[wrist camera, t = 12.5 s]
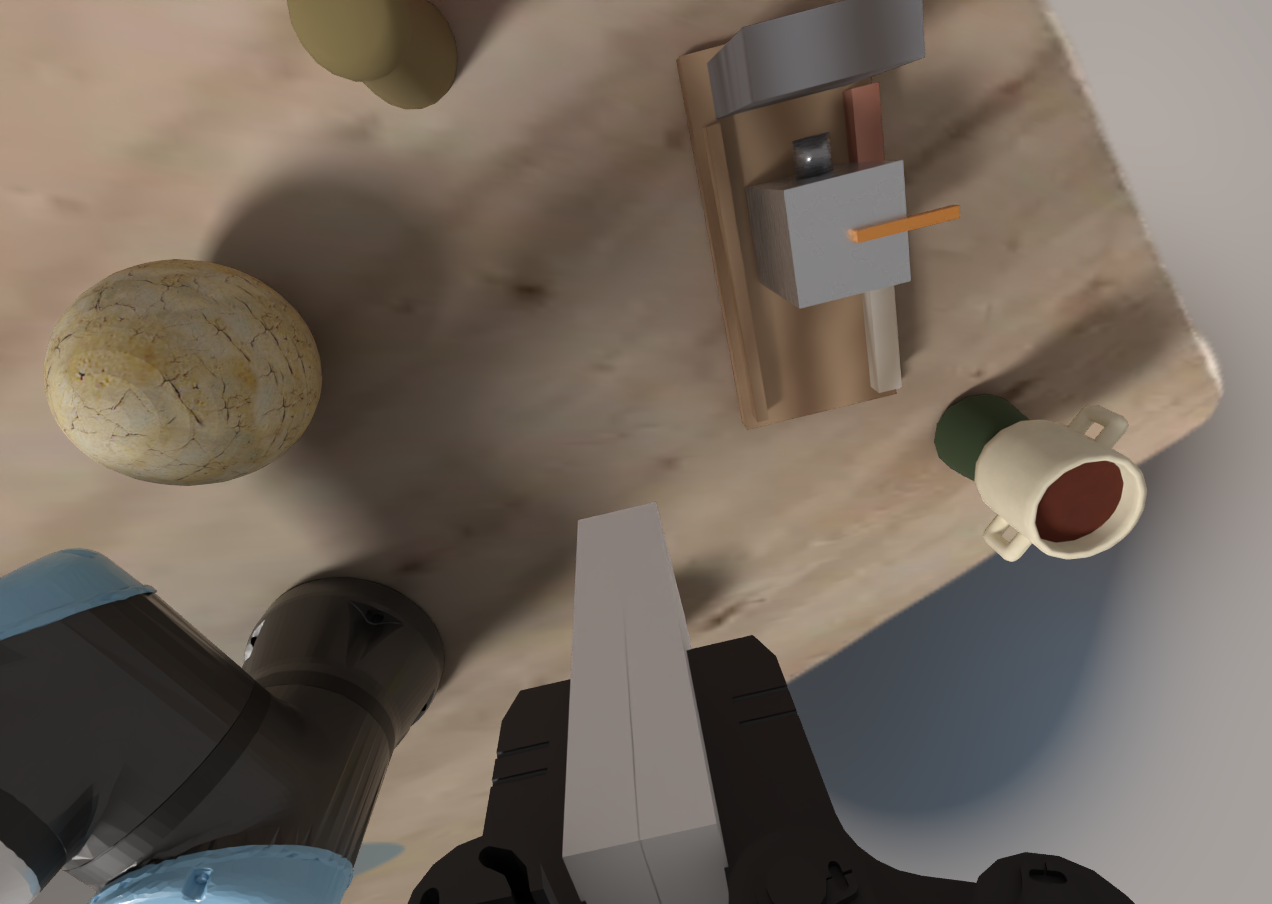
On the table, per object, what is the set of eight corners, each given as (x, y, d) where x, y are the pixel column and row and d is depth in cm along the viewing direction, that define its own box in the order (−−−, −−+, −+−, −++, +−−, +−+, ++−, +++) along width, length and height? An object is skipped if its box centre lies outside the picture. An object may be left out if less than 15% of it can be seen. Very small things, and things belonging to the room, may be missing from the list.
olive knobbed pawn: (459, -1, 37) (409, -66, 27) (456, 116, 40) (409, 96, 30) (350, -19, 37) (257, -93, 27) (353, 101, 39) (269, 75, 29)
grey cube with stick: (760, 283, 43) (802, 310, 34) (739, 153, 40) (780, 146, 31) (885, 251, 43) (961, 271, 34) (874, 118, 39) (955, 101, 31)
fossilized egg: (113, 294, 42) (-118, 352, 29) (282, 215, 41) (125, 235, 27) (233, 458, 47) (85, 574, 34) (387, 391, 46) (300, 483, 32)
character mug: (961, 504, 53) (1070, 601, 41) (891, 469, 51) (983, 559, 39) (1051, 388, 49) (1199, 456, 37) (979, 346, 47) (1109, 403, 35)
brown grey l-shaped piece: (742, 422, 49) (783, 491, 38) (676, 60, 39) (706, 17, 29) (888, 387, 48) (970, 446, 38) (856, 12, 39) (954, -48, 28)
